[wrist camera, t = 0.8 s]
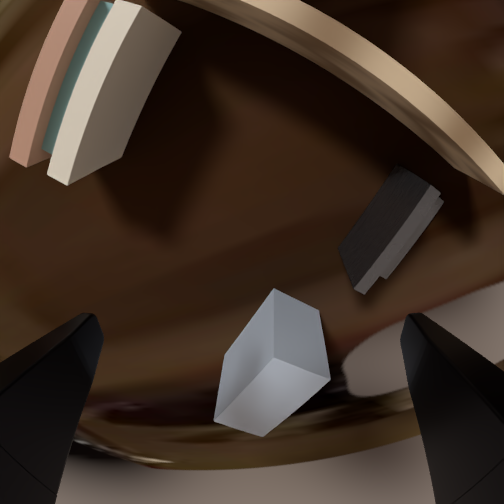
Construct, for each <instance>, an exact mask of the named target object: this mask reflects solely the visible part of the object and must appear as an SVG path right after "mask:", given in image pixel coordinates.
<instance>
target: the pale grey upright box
mask: <svg viewBox="0 0 504 504" xmlns="http://www.w3.org/2000/svg"><path fill="white" fill-rule="evenodd" d="M330 380H331V378H330V372H329V366H328V360H327V354H326V348H325V342H324V336H323V331H322V325H321V320H320V314H319V310H317V309H315V308H313V307H311V306H309V305H307V304H304V303H302V302H300V301H298V300H296V299H294V298H292V297H290V296H288V295H286V294H284V293H282V292H280V291H278V290H276V289H273V290H272V291H271V293H270V294H269V296H268V297H267V298H266V300H265V301H264V302H263V304H262V305H261V307H260V308H259V309H258V311H257V312H256V313H255V315H254V316H253V317H252V319H251V320H250V322H249V323H248V324H247V326H246V327H245V328H244V330H243V331H242V332H241V334H240V335H239V336H238V338H237V339H236V340H235V342H234V343H233V344H232V346H231V347H230V348H229V350H228V351H227V352H226V354H225V356H224V362H223V368H222V374H221V380H220V386H219V392H218V398H217V404H216V410H215V416H214V421H215V422H218V423H221V424H224V425H226V426H229V427H232V428H235V429H239V430H242V431H245V432H248V433H251V434H255V435H258V436H261V437H263V436H265V435H266V434H267V433H268V432H270V431H271V430H272V429H274V428H275V427H276V426H277V425H279V424H280V423H281V422H282V421H284V420H285V419H286V418H287V417H288V416H290V415H291V414H292V413H293V412H294V411H296V410H297V409H298V408H299V407H300V406H302V405H303V404H304V403H305V402H306V401H307V400H308V399H310V398H311V397H312V396H313V395H314V394H315V393H316V392H318V391H319V390H320V389H321V388H322V387H323V386H324V385H325V384H326V383H327V382H329V381H330Z"/></svg>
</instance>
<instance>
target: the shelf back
mask: <svg viewBox="0 0 504 504" xmlns="http://www.w3.org/2000/svg"><path fill="white" fill-rule="evenodd" d="M179 1H182V2H185V3H188V4H191V5H193V6H196V7H199V8H202V9H204V10H207V11H209V12H212V13H214V14H217V15H219V16H222V17H224V18H226V19H229V20H231V21H233V22H236V23H238V24H240V25H242V26H245V27H247V28H249V29H251V30H253V31H255V32H257V33H260V34H262V35H264V36H266V37H268V38H270V39H272V40H274V41H276V42H278V43H279V44H281V45H283V46H285V47H287V48H289V49H291V50H293V51H294V52H296V53H298V54H300V55H302V56H303V57H305V58H307V59H309V60H310V61H312V62H314V63H315V64H317V65H319V66H321V67H322V68H324V69H325V70H327V71H329V72H330V73H332V74H334V75H335V76H337V77H338V78H340V79H341V80H343V81H344V82H346V83H348V84H349V85H351V86H352V87H354V88H355V89H356V90H358V91H359V92H361V93H362V94H364V95H365V96H367V97H368V98H369V99H371V100H372V101H374V102H375V103H376V104H378V105H379V106H381V107H382V108H383V109H385V110H386V111H387V112H389V113H390V114H391V115H393V116H394V117H395V118H396V119H398V120H399V121H400V122H402V123H403V124H404V125H405V126H407V127H408V128H409V129H410V130H412V131H413V132H414V133H415V134H416V135H418V136H419V137H420V138H421V139H422V140H424V141H425V142H426V143H427V144H428V145H429V146H431V147H432V148H433V149H434V150H435V151H436V152H437V153H438V154H440V155H441V156H442V157H443V158H444V159H445V160H446V161H447V162H448V163H449V164H450V165H452V166H453V167H454V168H455V169H457V170H459V171H461V172H463V173H465V174H467V175H469V176H471V177H472V178H474V179H476V180H478V181H480V182H482V183H483V184H485V185H487V186H489V187H491V188H492V189H494V190H496V191H498V192H499V193H501V194H503V195H504V164H503V163H502V161H501V160H500V159H499V158H498V157H497V155H496V154H495V153H494V152H493V151H492V150H491V148H490V147H489V146H488V145H487V144H486V143H485V142H484V141H483V140H482V138H481V137H480V136H479V135H478V134H477V133H476V132H475V131H474V130H473V129H472V128H471V127H470V126H469V125H468V124H467V123H466V122H465V121H464V120H463V119H462V118H461V117H460V116H459V115H458V114H457V113H456V112H455V111H454V110H453V109H452V108H451V107H450V106H449V105H448V104H447V103H446V102H445V101H443V100H442V99H441V98H440V97H439V96H438V95H437V94H436V93H435V92H433V91H432V90H431V89H430V88H429V87H428V86H427V85H425V84H424V83H423V82H422V81H421V80H419V79H418V78H417V77H416V76H415V75H413V74H412V73H411V72H410V71H408V70H407V69H406V68H405V67H403V66H402V65H401V64H399V63H398V62H397V61H396V60H394V59H393V58H392V57H390V56H389V55H387V54H386V53H385V52H383V51H382V50H381V49H379V48H378V47H376V46H375V45H373V44H372V43H370V42H369V41H368V40H366V39H365V38H363V37H362V36H360V35H359V34H357V33H355V32H354V31H352V30H351V29H349V28H348V27H346V26H344V25H343V24H341V23H339V22H338V21H336V20H334V19H333V18H331V17H329V16H327V15H326V14H324V13H322V12H320V11H319V10H317V9H315V8H313V7H311V6H309V5H308V4H306V3H304V2H302V1H300V0H179Z"/></svg>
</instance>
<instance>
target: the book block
mask: <svg viewBox="0 0 504 504" xmlns="http://www.w3.org/2000/svg"><path fill="white" fill-rule="evenodd" d="M181 33H182V32H181V31H180V30H178V29H177V28H175V27H174V26H172V25H171V24H169V23H168V22H166V21H165V20H163V19H161V18H160V17H158V16H157V15H155V14H154V13H152V12H150V11H149V10H147V9H146V8H144V7H142V6H140V5H136V4H133V3H129V2H126V1H122V0H116V1H115V3H114V2H112V1H110V0H64V2H63V4H62V6H61V8H60V10H59V12H58V14H57V16H56V18H55V20H54V22H53V24H52V26H51V29H50V31H49V33H48V35H47V38H46V40H45V42H44V45H43V47H42V50H41V52H40V55H39V57H38V60H37V62H36V65H35V68H34V71H33V73H32V76H31V79H30V82H29V85H28V88H27V91H26V94H25V98H24V101H23V104H22V108H21V111H20V115H19V118H18V122H17V126H16V130H15V134H14V139H13V143H12V148H11V152H10V157H9V158H11V159H13V160H14V161H16V162H18V163H19V164H21V165H23V166H25V167H29V166H31V165H33V164H36V163H38V162H41V161H43V160H45V159H48V158H50V157H51V161H50V164H49V168H48V172H47V175H49V176H51V177H52V178H54V179H56V180H58V181H60V182H61V183H63V184H65V185H67V186H68V185H69V184H71V183H73V182H75V181H77V180H79V179H80V178H82V177H84V176H86V175H88V174H90V173H92V172H94V171H96V170H97V169H99V168H101V167H103V166H105V165H107V164H109V163H111V162H113V161H115V160H117V159H119V158H122V155H123V152H124V150H125V148H126V145H127V143H128V140H129V138H130V135H131V133H132V131H133V128H134V126H135V124H136V121H137V119H138V117H139V115H140V112H141V110H142V108H143V106H144V104H145V102H146V99H147V97H148V95H149V93H150V91H151V89H152V87H153V85H154V83H155V81H156V79H157V77H158V75H159V73H160V71H161V69H162V67H163V65H164V63H165V61H166V60H167V58H168V56H169V54H170V52H171V50H172V49H173V47H174V45H175V43H176V41H177V40H178V38H179V36H180V34H181Z"/></svg>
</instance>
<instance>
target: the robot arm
mask: <svg viewBox="0 0 504 504" xmlns="http://www.w3.org/2000/svg"><path fill="white" fill-rule="evenodd" d="M103 341H104V336H103V332H102V330H101V327H100V325H99V322H98V320H97V317H96V316H95V315H94V314H92V313H82V314H80V315H78V316H76V317H75V318H73V319H71V320H70V321H68V322H66V323H65V324H63V325H61V326H59V327H58V328H56V329H54V330H53V331H51V332H49V333H48V334H46V335H44V336H43V337H41V338H40V339H38V340H36V341H35V342H33V343H31V344H30V345H28V346H26V347H25V348H23V349H22V350H20V351H18V352H17V353H15V354H13V355H12V356H10V357H9V358H7V359H5V360H4V361H2V362H1V363H0V504H55V502H56V497H57V493H58V489H59V486H60V482H61V478H62V474H63V471H64V467H65V464H66V461H67V457H68V454H69V450H70V447H71V444H72V441H73V438H74V435H75V432H76V428H77V425H78V422H79V419H80V416H81V414H82V411H83V408H84V405H85V402H86V399H87V396H88V394H89V391H90V388H91V385H92V382H93V379H94V375H95V371H96V367H97V364H98V360H99V356H100V353H101V349H102V345H103ZM400 342H401V348H402V353H403V359H404V363H405V369H406V375H407V381H408V386H409V390H410V394H411V398H412V401H413V405H414V409H415V412H416V416H417V420H418V424H419V428H420V432H421V436H422V440H423V443H424V448H425V452H426V457H427V461H428V466H429V471H430V475H431V480H432V486H433V491H434V497H435V502H436V504H504V371H502V370H501V369H500V368H498V367H497V366H496V365H494V364H493V363H491V362H490V361H489V360H487V359H486V358H485V357H483V356H482V355H481V354H479V353H478V352H476V351H475V350H474V349H472V348H471V347H469V346H468V345H467V344H465V343H464V342H462V341H461V340H460V339H458V338H457V337H455V336H454V335H452V334H451V333H450V332H448V331H447V330H445V329H444V328H443V327H441V326H439V325H438V324H437V323H435V322H434V321H432V320H431V319H430V318H428V317H427V316H425V315H424V314H422V313H410V314H408V315H407V317H406V319H405V323H404V327H403V330H402V334H401V339H400Z"/></svg>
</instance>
